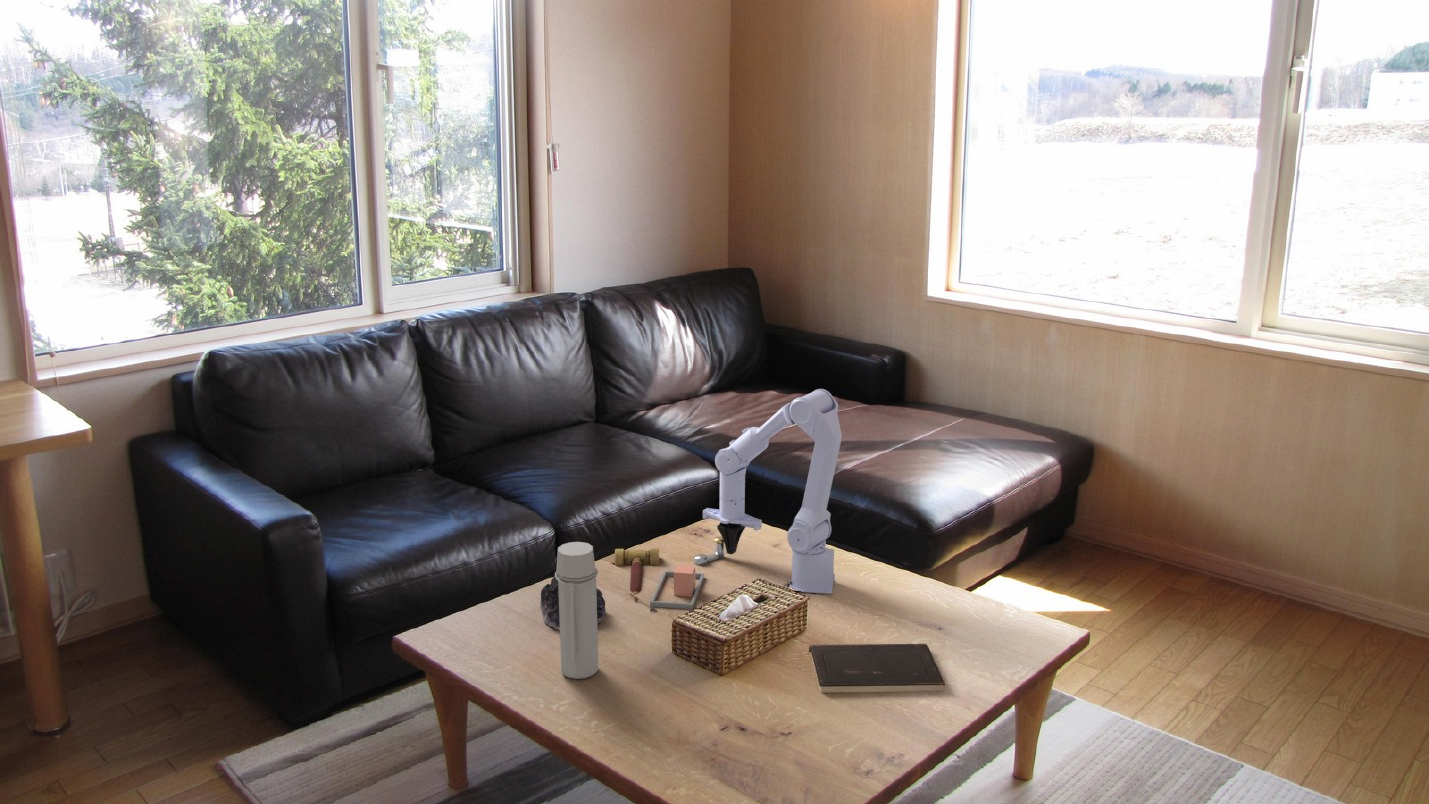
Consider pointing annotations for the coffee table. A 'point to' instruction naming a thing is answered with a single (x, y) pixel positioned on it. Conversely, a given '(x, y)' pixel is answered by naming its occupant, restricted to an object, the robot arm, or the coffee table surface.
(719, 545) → the crank
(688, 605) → the rectangular frame
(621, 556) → the gavel
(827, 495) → the robot arm
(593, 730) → the coffee table surface
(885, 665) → the hardcover book
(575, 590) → the water bottle
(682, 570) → the block
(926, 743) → the coffee table surface
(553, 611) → the crystal cluster
